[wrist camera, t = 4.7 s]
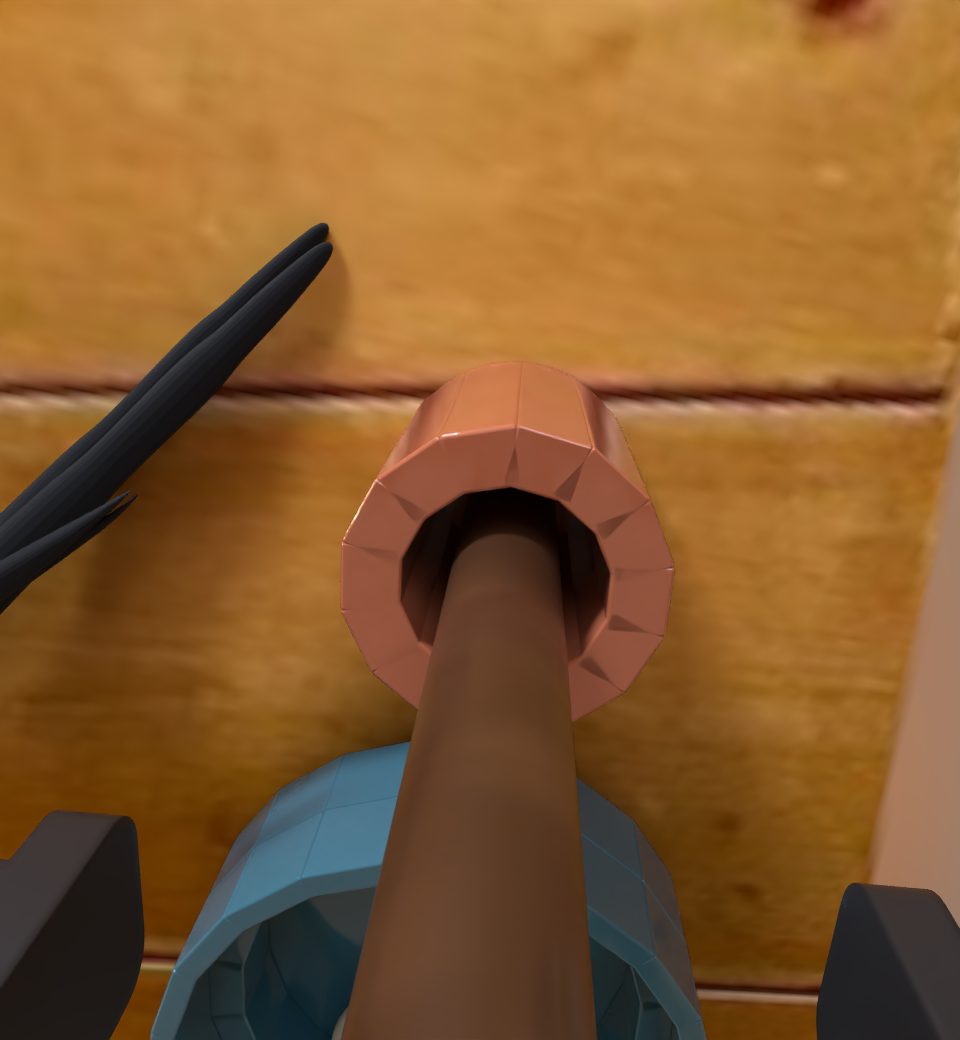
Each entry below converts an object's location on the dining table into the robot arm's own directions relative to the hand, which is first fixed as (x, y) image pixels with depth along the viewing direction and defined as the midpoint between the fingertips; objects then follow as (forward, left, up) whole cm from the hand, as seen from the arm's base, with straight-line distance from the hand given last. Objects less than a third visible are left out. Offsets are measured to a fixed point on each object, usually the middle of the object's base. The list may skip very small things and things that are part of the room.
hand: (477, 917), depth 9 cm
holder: (0, 0, -16) cm, 16 cm away
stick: (0, 0, -16) cm, 16 cm away
